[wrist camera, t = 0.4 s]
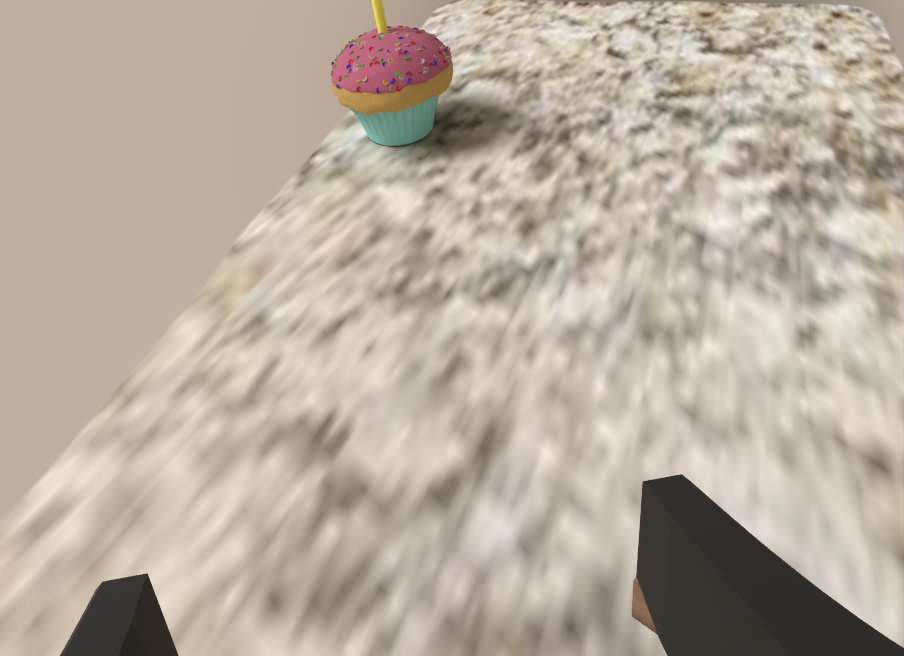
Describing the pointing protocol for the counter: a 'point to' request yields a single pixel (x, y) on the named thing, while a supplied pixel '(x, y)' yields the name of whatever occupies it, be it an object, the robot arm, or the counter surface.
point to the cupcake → (392, 80)
